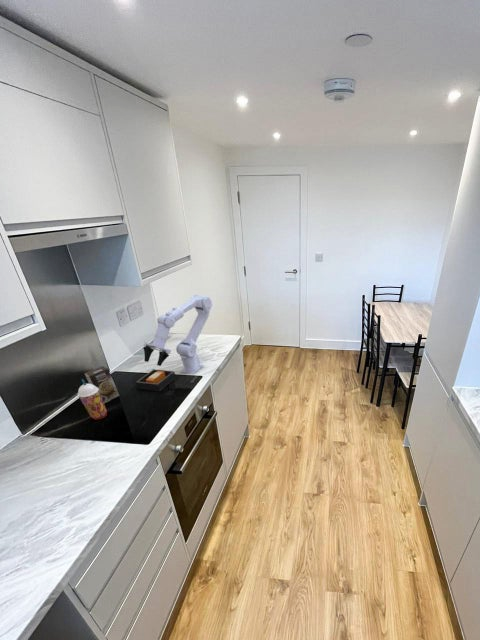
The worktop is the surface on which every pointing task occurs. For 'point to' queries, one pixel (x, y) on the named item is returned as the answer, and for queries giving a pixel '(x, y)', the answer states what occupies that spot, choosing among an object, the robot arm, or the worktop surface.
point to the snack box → (156, 377)
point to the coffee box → (103, 383)
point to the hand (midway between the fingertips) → (152, 363)
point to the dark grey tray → (153, 386)
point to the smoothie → (92, 400)
